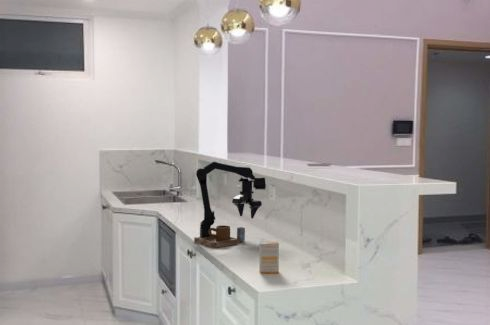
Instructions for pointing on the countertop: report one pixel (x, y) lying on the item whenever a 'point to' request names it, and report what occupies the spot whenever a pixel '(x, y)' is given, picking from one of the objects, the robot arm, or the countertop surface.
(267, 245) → the supplement box
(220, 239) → the mug
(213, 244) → the brown frame with handle
